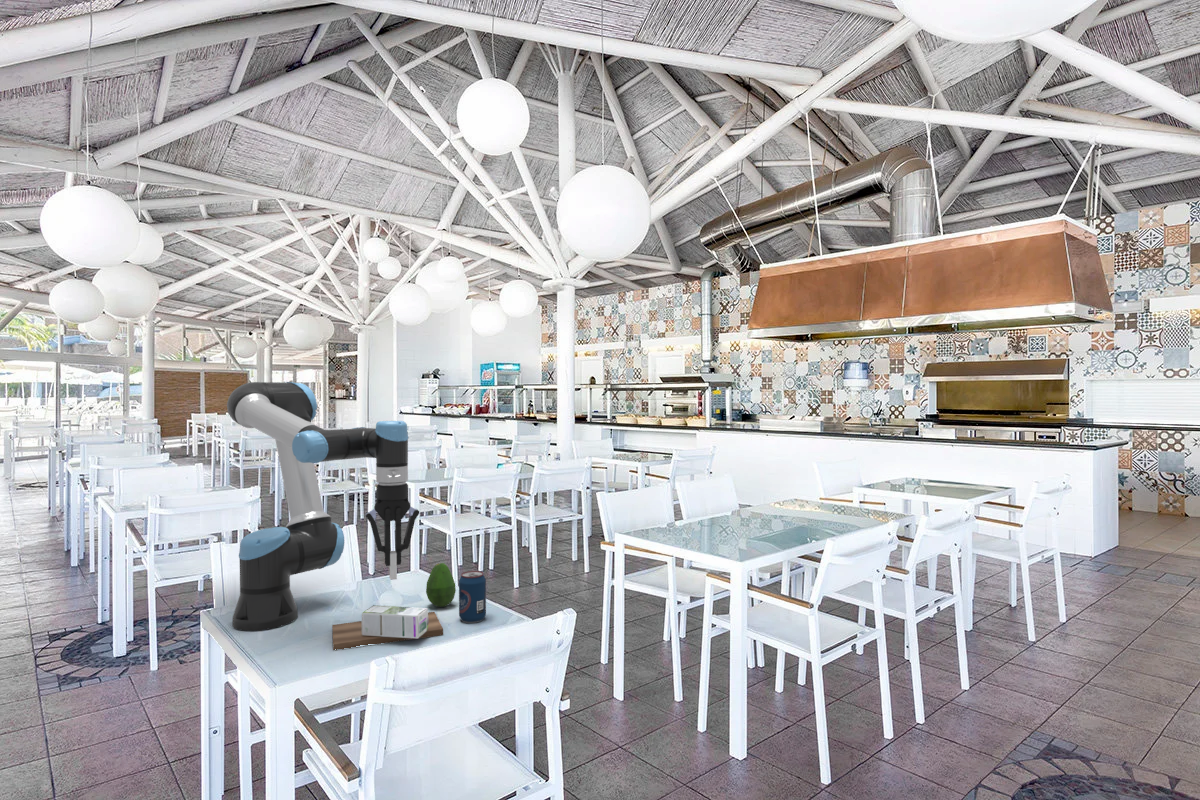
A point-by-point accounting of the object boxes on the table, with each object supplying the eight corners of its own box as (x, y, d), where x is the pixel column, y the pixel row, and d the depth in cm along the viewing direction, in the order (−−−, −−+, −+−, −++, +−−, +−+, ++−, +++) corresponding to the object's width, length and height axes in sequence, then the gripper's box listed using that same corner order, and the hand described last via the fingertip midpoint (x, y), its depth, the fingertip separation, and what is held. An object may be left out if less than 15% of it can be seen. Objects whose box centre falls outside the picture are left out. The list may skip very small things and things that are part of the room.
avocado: (444, 600, 190) (443, 558, 190) (461, 605, 185) (460, 562, 185) (420, 607, 184) (419, 563, 184) (437, 613, 179) (437, 568, 179)
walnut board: (332, 630, 166) (332, 624, 166) (434, 617, 175) (434, 611, 175) (333, 650, 153) (333, 644, 153) (443, 635, 162) (443, 628, 162)
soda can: (453, 619, 174) (453, 573, 174) (476, 613, 179) (475, 568, 179) (469, 625, 169) (468, 578, 169) (491, 619, 174) (491, 573, 174)
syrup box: (361, 636, 158) (418, 640, 155) (361, 611, 158) (418, 615, 155) (373, 627, 163) (428, 631, 161) (373, 603, 163) (428, 607, 161)
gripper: (365, 486, 158) (366, 585, 159) (421, 483, 163) (422, 579, 164) (363, 482, 165) (364, 577, 166) (417, 479, 170) (418, 571, 171)
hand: (393, 578), depth 165 cm, fingers closed
